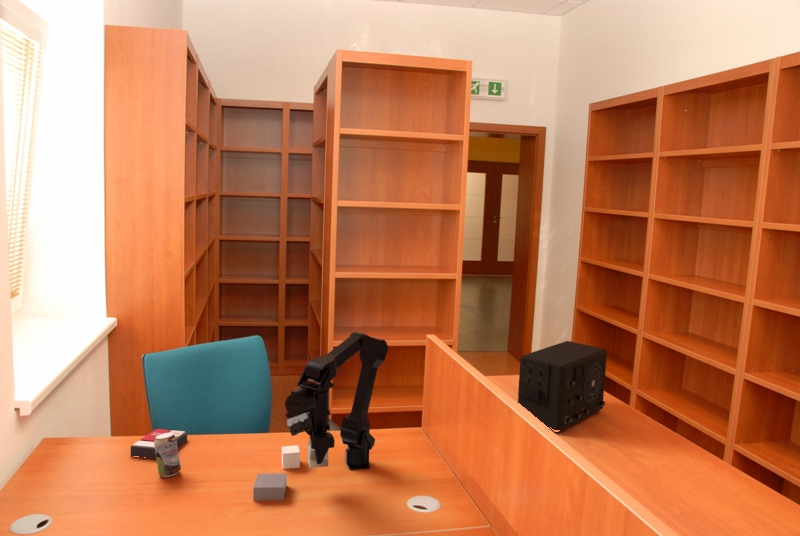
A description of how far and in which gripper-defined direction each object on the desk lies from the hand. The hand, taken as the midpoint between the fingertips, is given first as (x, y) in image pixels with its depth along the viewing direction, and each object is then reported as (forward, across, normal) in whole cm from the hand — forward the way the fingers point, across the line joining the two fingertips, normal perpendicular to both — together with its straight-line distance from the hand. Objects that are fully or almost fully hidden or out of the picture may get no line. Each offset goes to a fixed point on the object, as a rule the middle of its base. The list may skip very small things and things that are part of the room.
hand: (317, 459), depth 170 cm
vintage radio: (+9, -35, +97) cm, 104 cm away
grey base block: (+9, 0, -13) cm, 16 cm away
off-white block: (+9, -16, -6) cm, 19 cm away
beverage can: (+9, -17, -41) cm, 45 cm away
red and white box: (+9, -36, -45) cm, 58 cm away
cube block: (+1, 0, 0) cm, 1 cm away
